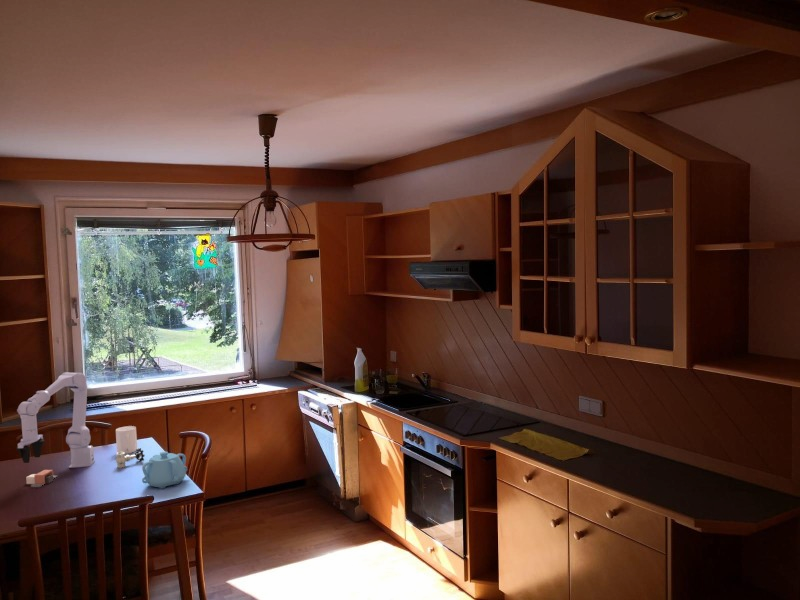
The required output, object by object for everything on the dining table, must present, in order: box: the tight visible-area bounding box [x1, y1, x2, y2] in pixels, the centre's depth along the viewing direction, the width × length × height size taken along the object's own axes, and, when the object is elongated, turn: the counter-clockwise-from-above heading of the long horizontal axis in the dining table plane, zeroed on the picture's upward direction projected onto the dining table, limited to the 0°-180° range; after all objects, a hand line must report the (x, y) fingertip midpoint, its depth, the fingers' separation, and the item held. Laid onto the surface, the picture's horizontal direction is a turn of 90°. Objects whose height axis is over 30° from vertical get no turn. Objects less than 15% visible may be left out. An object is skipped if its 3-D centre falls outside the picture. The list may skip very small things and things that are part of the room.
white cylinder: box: [115, 425, 138, 455], centre depth 330 cm, size 10×12×12 cm
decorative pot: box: [141, 451, 188, 489], centre depth 280 cm, size 16×16×14 cm
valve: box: [115, 447, 145, 469], centre depth 309 cm, size 7×7×12 cm
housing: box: [30, 469, 58, 488], centre depth 289 cm, size 4×13×4 cm, turn 175°
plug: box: [26, 473, 54, 485], centre depth 289 cm, size 10×4×3 cm, turn 85°
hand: (32, 459), depth 289 cm, fingers open, 7 cm apart
